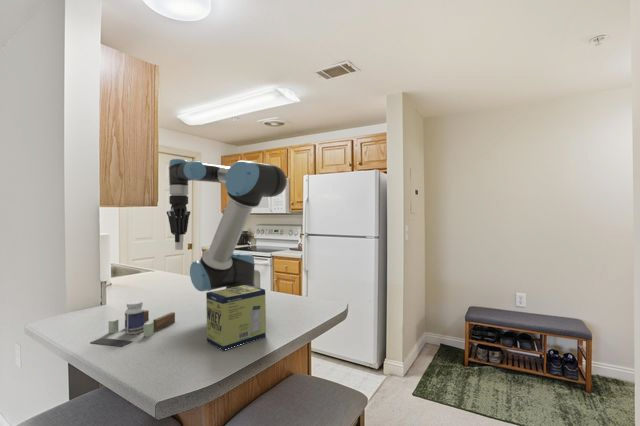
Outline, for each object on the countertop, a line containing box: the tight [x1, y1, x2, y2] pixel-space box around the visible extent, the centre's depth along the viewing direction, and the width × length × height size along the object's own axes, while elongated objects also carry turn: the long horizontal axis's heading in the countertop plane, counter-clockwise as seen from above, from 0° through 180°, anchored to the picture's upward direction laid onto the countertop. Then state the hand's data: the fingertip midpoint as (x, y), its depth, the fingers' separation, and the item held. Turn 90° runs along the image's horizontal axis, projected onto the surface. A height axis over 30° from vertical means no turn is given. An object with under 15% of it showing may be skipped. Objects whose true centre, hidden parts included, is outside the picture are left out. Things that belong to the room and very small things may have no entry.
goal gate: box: [108, 318, 154, 338], centre depth 108 cm, size 16×2×4 cm, turn 76°
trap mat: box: [89, 337, 133, 348], centre depth 101 cm, size 12×4×1 cm, turn 76°
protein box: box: [205, 285, 267, 351], centre depth 103 cm, size 10×16×16 cm
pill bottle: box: [124, 300, 145, 335], centre depth 110 cm, size 6×6×10 cm
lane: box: [144, 309, 176, 331], centre depth 117 cm, size 13×9×4 cm
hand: (179, 249), depth 141 cm, fingers closed
